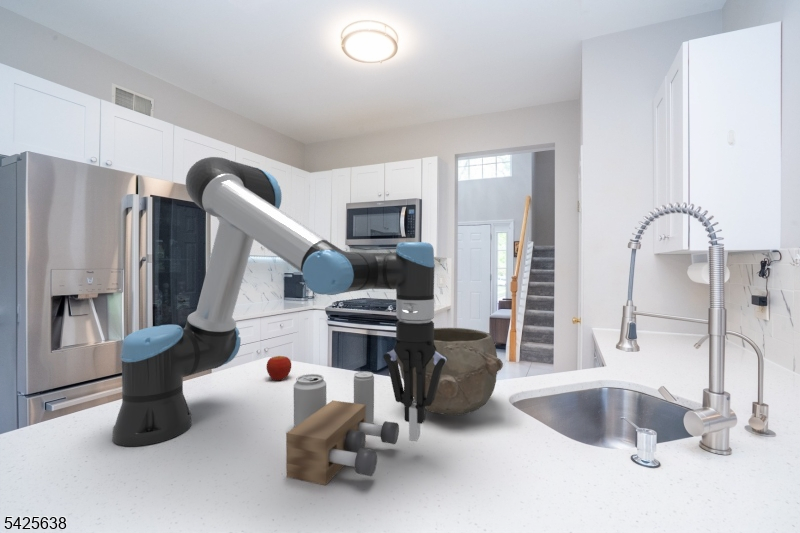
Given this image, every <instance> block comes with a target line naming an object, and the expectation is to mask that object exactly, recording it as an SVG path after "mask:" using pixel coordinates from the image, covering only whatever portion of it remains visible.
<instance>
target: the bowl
mask: <svg viewBox="0 0 800 533" xmlns="http://www.w3.org/2000/svg"><path fill="white" fill-rule="evenodd" d="M434 345H435V347H436V352H438V353H439V354H440V355H442V356H446V357H447V361H446V363H445V364H444V366H443V367H442V371H441V375H440V379H439V383H438V387H437V391H436V395H435V399H434V401H433V403H432V404H431V405H430V406H425V410H428V411H429V412H432V413H436V414H439V415H447V416H462V415H465V414H469V413H473V412H475V411H477V410H479V409H480V408H482V407H484V406H485V405H486V404H487V403H488V401H489V400H490V399H491V397H492V395H493V393H494V390H495V387H496V383H497V375H498V372H499V371H500V370H502V369H503V366H504V363H503V360H501V358H499V357H498V354H497V348H496V344H495V342H494V338H493V337H492V335H490V334H489V333H488V332H485V331H483V330H477V329H472V328H466V327H465V328H463V327H434ZM396 360H397V363H398V367H399V371H400V375H401V379H402V382H404V372H403V363H402V362H401V360H400V359H399V357H398V356H397V359H396ZM434 367H435V364H434V357H432V359H431V360H430V361H429V363H428V364H427V365H426V398H427V394H428V389H429V385H430V381H431V377H432V373H433V370H434ZM416 376H417V374H416V368H415V367H414V369H413V399H414V400H415V401H416Z"/></svg>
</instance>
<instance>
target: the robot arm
mask: <svg viewBox="0 0 800 533" xmlns="http://www.w3.org/2000/svg"><path fill="white" fill-rule="evenodd" d="M185 176H186V177H185V189H186V191H187V192H186V193H187V194H188V196H189V198H190V199H191V200H192V202H194V204H195V205H196V206H198V208H200V209H201V210H203V211H204V212H206V213H207V214H209V215H210V216H212V217H215V218H217V220H218V222H219V223H218V228H217V230H216V235H215V239H214V242H213V247H212V250H211V253H210V257H209V262H208V265H207V269H206V272H205V276H204V280H203V284H202V288H201V292H200V296H199V300H198V303H197V308H196V310H195V311H193V312H192V313H190V314H188V316H187V319H186V323H185V327H184V328H183V327H182V326H180V325H179V324H161V325H157V326H151V327H145V328H142V329H138V330H135V331H133V332H132V333H129V334H128V335H127V336H126V337H125V338H124V339H123V341H122V346H121V353H120V360H121V380H122V381H121V386H122V387H121V392H122V394H121V396H122V398H121V399H122V402H121V406H120V408H119V411H118V414H117V417H116V419H115V420H116V421H115V424H114V425H113V427H112V441H113V443H114V444H115V445H119V446H124V447H139V446H140V447H141V446H148V445H153V444H157V443H161V442H165V441H167V440H170V439H173V438H175V437H179V436H180V435H182V434H183V433H186V431H188V430H189V429H190V428H191V426H192V413H191V410H190V409H189V406H188V402H187V400H186V398H185V394H184V390H183V386H184V385H183V383H184V381H183V379H184V378H185V377H189V376H191V375H195V374H199V373H202V372H205V371H209V370H214V369H218V368H220V367H222V366H224V365H227V364H229V363H230V362H232V361H233V360H234V359H235V358H236V356H237V354H239V351H240V348H241V341H242V340H241V337H240V336H239V335H240V331H239V329H238V327H237V322H236V319H234V318H233V316H234V313H235V307H236V304H237V300H238V297H239V294H240V289H241V286H242V283H243V279H244V276H245V272H246V269H247V268H246V267H247V265H248V261H249V258H250V255H251V250H252V247H253V244H254V241H256V242H257V243H259V244H260V245H261V246H263V247H264V248H266V249H267V250H269V251H270V252H271V253H273V254H274V255H276V256H277V257H278V258H280V260H282V261H284V262H286V263H287V264H288V265H290V266H291V267H293V268H294V269H296V270H297V271H298V272H300V273H301V274H302V278H303V281H304V283H305V284H306V287H307V288H308V289H309V290H310V291H311V292H312V293H315V294H317V295H327V296H328V295H329V296H335V295H339V294H344V293H350V292H356V291H357V292H358V291H365V290H395V292H396V296H395V300H396V302H395V303H396V305H395V306H396V310H395V311H396V313H395V314H396V318H397V319H398V320H397V321H396V323H395V339H396V341H395V343H394V346H393V349H392V350H389V351H387V352H386V353H385V354H383V357H382V358H383V359H384V361H385V363H386V365H387V367H388V368H387V369H388V372H389V373H388V374H389V376H390V382H391V386H392V391H393V396H394V399H395V401H396V402H397V403H401V404H403V405H404V421H405V422H408V423H409V424H408V441H410V442H417V441H418V440H419V437H420V436H421V425H422V424H423V423H424V421H425V419H426V408H425V406H430V405H431V404H432V403H433V401H434V399H435V395H436V391H437V387H438V383H439V379H440V375H441V371H442V367H443V366H444V364H445V363H446V361H447V357H446V356H442V355H440V354H439V353H438V352H436V347H435V345H434V328H435V322H433V319H434V318H435V268H436V264H435V253H434V252H435V251H434V246H433V245H432V244H431V243H430V242H423V241H421V242H420V241H413V242H412V241H407V242H398V243H397V244H396V249H395V251H394V252H361V251H360V252H357V251H346V250H345V251H344V250H342V248H341V249H340V248H339V247H338V246H336V245H334V243H332V242H329V241H328V240H327V239H325V238H324V237H323V236H321V235H319V234H318V233H316V232H315V231H313V230H312V229H310V228H309V227H307V226H305V225H304V224H302V223H301V222H299V221H298V220H296V219H294V218H293V217H291V216H290V215H288V214H287V213H286V212H284V211H282V210H280V207H281V204H282V198H283V197H282V190H281V186H280V185H279V183H278V180H277V178H276V177H275V176H274V175H272V174H271V173H270V172H267V171H265V170H263V169H261V168H259V167H254V166H251V165H248V164H244V163H240V162H237V161H235V160H234V161H233V160H230V159H228V158H223V157H218V156H209V157H204V158H202V159H200V160H198V161H196V162H195V163H193V165H192V166H191V167H190V168H189V170H188V172H187V174H186V175H185ZM397 356H398V357H399V359H400V360H401V362H402V363H403V372H404V381H403V379H402V375H401V370H400V366H399V364H398V363H397V360H396V359H397ZM432 357H434V364H435V367H434V370H433V373H432V377H431V381H430V385H429V389H428V394H427V398H426V365H427V364H428V363H429V361H430V360H431V359H432ZM414 367H415V368H416V374H417V376H416V400H415V399H414V397H413V369H414ZM414 400H415V402H414Z"/></svg>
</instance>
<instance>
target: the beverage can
mask: <svg viewBox="0 0 800 533" xmlns="http://www.w3.org/2000/svg"><path fill="white" fill-rule="evenodd" d="M353 403H356V404H364V405H366V423H369V424H374V422H375V418H374V417H375V376H374V372H371V371H358V372H355V373H354V376H353Z"/></svg>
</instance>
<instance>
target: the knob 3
mask: <svg viewBox="0 0 800 533" xmlns="http://www.w3.org/2000/svg"><path fill="white" fill-rule="evenodd" d="M358 431H361V432H364V434H365V435H366V436H372V437H379V438H380V441H381V442H382V443H385V444H391V445H396V443H397V442H398V439H399V434H400V426H399V423H398V422H395V421H393V422H392V421H388V420H387V421H386V420H385V421H383V424H382V425H381V424H374V423H373V424H369V423H362V422H359V423H358Z"/></svg>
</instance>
